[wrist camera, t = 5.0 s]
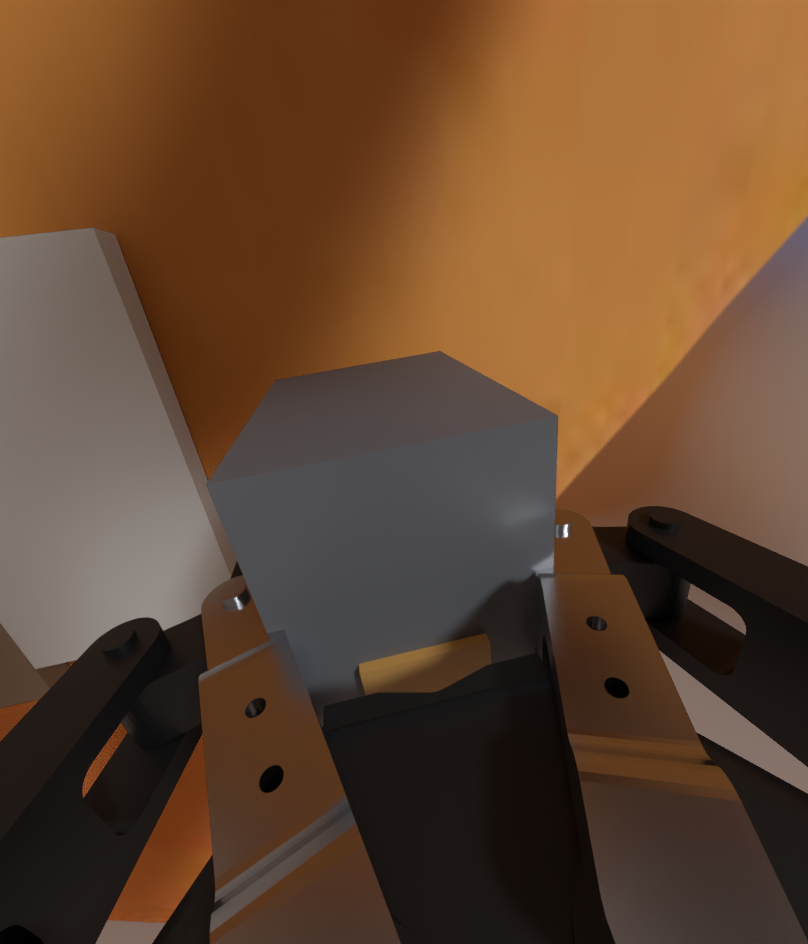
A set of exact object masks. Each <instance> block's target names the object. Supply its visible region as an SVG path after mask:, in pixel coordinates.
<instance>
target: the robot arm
mask: <svg viewBox="0 0 808 944" xmlns="http://www.w3.org/2000/svg"><path fill="white" fill-rule="evenodd" d="M690 584H693V585H695V586H696V587H698V588H700V589H701V590H703V591H705V592H706V593H708V594H710V595H711V596H713V597H715V598H717V599H718V600H720V601H722V602H723V603H725V604H727V605H729V606H730V607H732V608H733V609H734V610H735V611H736V612H737V613H738V614H739V615H740V616H741V617H742V619H743V621H744V623H745V625H746V635H744V634H743V633H741V632H740V631H738V630H736V629H735V628H733V627H732V626H730V625H728V624H727V623H725V622H724V621H722V620H720V619H719V618H717V617H716V616H714V615H712V614H711V613H709V612H708V611H706V610H705V609H703V608H701V607H699V606H698V605H697V604H695V603H693V602H692V601H690V600H688V599H687V597H688V593H689V589H690ZM535 592H536V601H537V648H535V653H534V654H530V655H526V656H522V657H518V658H514V659H510V660H506V661H502V662H498V663H494V664H490V665H486V666H484V667H483V668H481V669H479V670H477V671H475V672H473V673H472V674H470V675H468V676H466V677H464V678H462V679H461V680H459V681H457V682H455V683H453V684H451V685H449V686H448V687H446V688H444V689H442V690H440V691H437V692H378V693H374V694H370V695H366V696H362V697H358V698H354V699H350V700H346V701H342V702H338V703H334V704H330V705H326V706H324V713H323V727H321V724H320V721H319V719H318V716H317V713H316V711H315V708H314V706H313V703H312V701H311V698H310V696H309V693H308V690H307V688H306V685H305V683H304V680H303V677H302V675H301V672H300V670H299V667H298V664H297V662H296V659H295V656H294V654H293V651H292V648H291V646H290V643H289V641H288V638H287V635H286V633H285V630H284V629H283V630H279V631H274V632H270V633H267V632H266V629H265V627H264V625H263V622H262V620H261V617H260V615H259V613H258V610H257V608H256V605H255V603H254V600H253V598H252V596H251V593H250V591H249V588H248V586H247V584H246V581H245V579H244V576H243V574H242V571H241V569H240V567H239V564H238V562H236V564H235V567H234V570H233V573H232V576H231V578H230V579H229V580H227V581H225V582H224V583H222V584H220V585H219V586H217V587H216V588H215V589H213V590H212V591H211V592H210V593H209V594H208V595H207V597H206V598H205V599H204V601H203V603H202V606H201V614H199V615H197V616H195V617H193V618H191V619H189V620H187V621H184V622H182V623H180V624H178V625H175V626H173V627H171V628H168V629H166V630H164V631H163V629H162V628H161V626H160V624H159V622H158V621H157V620H155V619H153V618H149V617H143V618H137V619H133V620H130V621H127V622H124V623H122V624H120V625H118V626H116V627H114V628H112V629H111V630H109V631H108V632H106V633H105V634H103V635H102V636H100V637H99V638H98V639H97V640H96V641H95V642H94V643H93V644H91V645H90V646H89V648H88V649H87V650H86V651H85V652H84V653H83V654H82V655H81V656H80V657H79V658H78V659H77V660H76V661H75V663H74V664H73V665H72V666H71V667H70V668H69V669H68V670H67V671H66V672H65V673H64V674H63V675H62V676H61V678H60V679H59V680H58V681H57V682H56V683H55V684H54V685H53V686H52V687H51V688H50V689H49V690H48V691H47V692H46V694H45V695H44V696H43V697H42V698H41V699H40V700H39V701H38V702H37V703H36V704H35V705H34V706H33V707H32V709H31V710H30V711H29V712H28V713H27V714H26V715H25V716H24V717H23V718H22V719H21V720H20V721H19V722H18V724H17V725H16V726H15V727H14V728H13V729H12V730H11V731H10V732H9V733H8V734H7V735H6V736H5V737H4V738H3V740H2V741H1V742H0V944H95V943H96V941H97V939H98V937H99V935H100V933H101V931H102V929H103V927H104V925H105V923H106V921H107V920H108V918H109V916H110V914H111V912H112V910H113V908H114V906H115V904H116V902H117V900H118V898H119V896H120V894H121V892H122V890H123V888H124V886H125V884H126V882H127V880H128V878H129V876H130V874H131V872H132V870H133V868H134V867H135V865H136V863H137V861H138V859H139V857H140V855H141V853H142V851H143V849H144V847H145V845H146V843H147V841H148V839H149V837H150V835H151V833H152V831H153V829H154V827H155V825H156V823H157V821H158V819H159V817H160V815H161V814H162V812H163V810H164V808H165V806H166V804H167V802H168V800H169V798H170V796H171V794H172V792H173V790H174V788H175V786H176V784H177V782H178V780H179V778H180V776H181V774H182V772H183V770H184V768H185V766H186V764H187V762H188V761H189V759H190V757H191V755H192V753H193V751H194V749H195V747H196V745H197V743H198V741H199V739H200V737H201V735H202V733H203V744H204V756H205V768H206V780H207V792H208V804H209V816H210V828H211V840H212V852H213V855H212V856H211V858H210V859H209V861H208V862H207V864H206V865H205V866H204V868H203V869H202V871H201V872H200V874H199V875H198V877H197V878H196V880H195V881H194V883H193V884H192V886H191V887H190V889H189V890H188V892H187V893H186V894H185V896H184V897H183V899H182V900H181V902H180V903H179V905H178V906H177V908H176V909H175V911H174V912H173V914H172V915H171V917H170V918H169V919H168V921H167V922H166V924H165V926H164V927H163V929H162V930H161V931H160V933H159V934H158V936H157V937H156V939H155V940H154V942H153V943H152V944H808V794H807V793H805V792H804V791H802V790H800V789H798V788H796V787H794V786H793V785H791V784H789V783H787V782H785V781H784V780H782V779H780V778H778V777H776V776H775V775H773V774H771V773H769V772H767V771H765V770H764V769H762V768H760V767H758V766H756V765H755V764H753V763H751V762H749V761H747V760H745V759H744V758H742V757H740V756H738V755H737V754H735V753H733V752H731V751H729V750H727V749H725V748H724V747H722V746H720V745H718V744H717V743H715V742H713V741H711V740H709V739H708V738H706V737H704V736H702V735H700V734H698V733H697V732H696V731H695V729H694V727H693V725H692V722H691V720H690V718H689V716H688V713H687V712H686V709H685V707H684V705H683V702H682V700H681V698H680V696H679V693H678V692H677V689H676V687H675V685H674V682H673V680H672V678H671V676H670V674H669V671H668V669H667V667H666V665H665V662H664V660H663V658H662V656H661V654H660V652H659V650H660V651H661V652H662V653H663V654H665V655H666V656H667V657H669V658H670V659H671V660H672V661H674V662H675V663H676V664H678V665H679V666H680V667H681V668H683V669H684V670H685V671H686V672H688V673H689V674H690V675H691V676H693V677H694V678H695V679H697V680H698V681H699V682H700V683H702V684H703V685H704V686H705V687H707V688H708V689H709V690H711V691H712V692H713V693H714V694H716V695H717V696H718V697H720V698H721V699H722V700H723V701H724V702H726V703H727V704H728V705H730V706H731V707H732V708H733V709H735V710H736V711H737V712H739V713H740V714H741V715H742V716H744V717H745V718H746V719H747V720H749V721H750V722H751V723H752V724H754V725H755V726H756V727H758V728H759V729H760V730H761V731H763V732H764V733H765V734H766V735H768V736H769V737H770V738H772V739H773V740H774V741H776V742H777V743H778V744H779V745H780V746H782V747H783V748H784V749H786V750H787V751H788V752H789V753H791V754H792V755H793V756H794V757H796V758H797V759H798V760H799V761H801V762H802V763H803V764H805V765H806V766H807V767H808V567H807V566H805V565H803V564H801V563H798V562H796V561H794V560H792V559H789V558H787V557H785V556H783V555H780V554H778V553H776V552H773V551H771V550H769V549H767V548H764V547H762V546H760V545H758V544H755V543H753V542H751V541H749V540H746V539H744V538H742V537H739V536H737V535H735V534H733V533H730V532H728V531H726V530H723V529H721V528H719V527H717V526H715V525H712V524H710V523H708V522H706V521H703V520H701V519H699V518H696V517H694V516H692V515H690V514H687V513H685V512H682V511H680V510H676V509H673V508H668V507H661V506H648V507H641V508H638V509H635V510H634V511H632V512H631V513H630V514H629V517H628V523H627V527H592V526H591V523H590V522H589V520H588V519H587V518H586V517H584V516H583V515H581V514H579V513H577V512H575V511H571V510H567V509H559V508H555V534H554V566H553V567H551V568H546V569H542V570H538V571H535ZM120 723H121V724H122V725H123V726H124V728H125V729H126V730H127V732H128V733H127V735H126V736H125V738H124V739H123V741H122V742H121V744H120V745H119V747H118V748H117V749H116V751H115V752H114V754H113V755H112V757H111V758H110V760H109V761H108V763H107V764H106V766H105V767H104V769H103V770H102V772H101V773H100V775H99V776H98V778H97V779H96V781H95V782H94V784H93V785H92V787H91V788H90V790H89V791H88V793H87V794H86V796H85V797H84V798H83V795H82V787H83V782H84V778H85V776H86V773H87V771H88V769H89V767H90V765H91V764H92V762H93V761H94V760H95V758H96V757H97V755H98V754H99V752H100V751H101V750H102V748H103V747H104V745H105V744H106V743H107V741H108V740H109V738H110V737H111V735H112V734H113V733H114V731H115V730H116V728H117V727H118V725H119V724H120Z"/></svg>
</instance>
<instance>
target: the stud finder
mask: <svg viewBox="0 0 808 944" xmlns="http://www.w3.org/2000/svg"><path fill="white" fill-rule="evenodd" d="M557 438H558V415H556V414H554V413H552V412H550V411H549V410H547V409H545V408H543V407H541V406H539V405H538V404H536V403H534V402H532V401H530V400H528V399H527V398H525V397H523V396H521V395H519V394H517V393H516V392H514V391H512V390H510V389H508V388H507V387H505V386H503V385H501V384H499V383H497V382H496V381H494V380H492V379H490V378H488V377H486V376H485V375H483V374H481V373H479V372H477V371H475V370H474V369H472V368H470V367H468V366H466V365H464V364H463V363H461V362H459V361H457V360H455V359H453V358H452V357H450V356H448V355H446V354H444V353H442V352H441V351H438V352H432V353H426V354H421V355H415V356H409V357H403V358H398V359H392V360H386V361H381V362H375V363H369V364H364V365H358V366H352V367H347V368H341V369H335V370H330V371H324V372H318V373H313V374H307V375H301V376H296V377H290V378H284V379H279V380H275V381H274V383H273V384H272V386H271V387H270V389H269V390H268V392H267V393H266V395H265V397H264V398H263V400H262V401H261V403H260V404H259V406H258V407H257V409H256V410H255V412H254V413H253V415H252V416H251V418H250V419H249V421H248V422H247V424H246V425H245V427H244V428H243V430H242V431H241V433H240V434H239V436H238V437H237V439H236V440H235V442H234V443H233V445H232V446H231V448H230V449H229V451H228V452H227V454H226V455H225V457H224V458H223V460H222V461H221V463H220V464H219V466H218V467H217V469H216V470H215V472H214V473H213V475H212V476H211V478H210V479H209V481H208V482H207V484H206V487H207V489H208V492H209V494H210V496H211V499H212V501H213V504H214V506H215V509H216V511H217V513H218V516H219V518H220V521H221V523H222V525H223V528H224V530H225V533H226V535H227V538H228V540H229V542H230V545H231V547H232V550H233V552H234V555H235V557H236V559H237V562H238V564H239V567H240V569H241V571H242V574H243V576H244V579H245V581H246V584H247V586H248V588H249V591H250V593H251V596H252V598H253V600H254V603H255V605H256V608H257V610H258V613H259V615H260V617H261V620H262V622H263V625H264V627H265V629H266V632H267V633H270V632H274V631H279V630H283V629H284V630H285V633H286V635H287V638H288V641H289V643H290V646H291V648H292V651H293V654H294V656H295V659H296V662H297V664H298V667H299V670H300V672H301V675H302V677H303V680H304V683H305V685H306V688H307V690H308V693H309V696H310V698H311V701H312V703H313V706H314V708H315V711H316V713H317V716H318V719H319V721H320V724H321V727H323V713H324V706H326V705H330V704H334V703H338V702H342V701H346V700H350V699H354V698H358V697H362V696H366V695H370V694H374V693H378V692H437V691H440V690H442V689H444V688H446V687H448V686H449V685H451V684H453V683H455V682H457V681H459V680H461V679H462V678H464V677H466V676H468V675H470V674H472V673H473V672H475V671H477V670H479V669H481V668H483V667H484V666H486V665H490V664H494V663H498V662H502V661H506V660H510V659H514V658H518V657H522V656H526V655H530V654H534V653H535V648H537V601H536V592H535V571H538V570H542V569H546V568H551V567H553V566H554V534H555V502H556V470H557Z"/></svg>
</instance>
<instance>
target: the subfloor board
mask: <svg viewBox="0 0 808 944" xmlns="http://www.w3.org/2000/svg"><path fill="white" fill-rule="evenodd" d="M207 482H208V480H207V477H206V474H205V472H204V469H203V466H202V464H201V461H200V458H199V456H198V453H197V451H196V448H195V445H194V443H193V440H192V437H191V435H190V432H189V429H188V427H187V424H186V421H185V419H184V416H183V413H182V411H181V408H180V405H179V403H178V400H177V397H176V395H175V392H174V390H173V387H172V384H171V382H170V379H169V376H168V374H167V371H166V368H165V366H164V363H163V360H162V358H161V355H160V352H159V350H158V347H157V344H156V342H155V339H154V336H153V334H152V331H151V329H150V326H149V323H148V321H147V318H146V315H145V313H144V310H143V307H142V305H141V302H140V299H139V297H138V294H137V291H136V289H135V286H134V283H133V281H132V278H131V275H130V273H129V270H128V267H127V265H126V262H125V260H124V257H123V254H122V252H121V249H120V246H119V244H118V241H117V238H116V236H115V234H112V233H109V232H106V231H103V230H99V229H96V228H85V229H76V230H67V231H57V232H48V233H39V234H30V235H21V236H12V237H3V238H0V708H3V707H7V706H12V705H16V704H20V703H25V702H29V701H33V700H38V699H41V698H42V697H43V696H44V695H45V694H46V692H47V691H48V690H49V689H50V688H51V687H52V686H53V685H54V684H55V683H56V682H57V681H58V680H59V679H60V678H61V676H62V675H63V674H64V673H65V672H66V671H67V670H68V669H69V668H70V667H69V666H68V664H67V663H66V662H70V661H74V660H77V659H78V658H79V657H80V656H81V655H82V654H83V653H84V652H85V651H86V650H87V649H88V648H89V646H90V645H91V644H93V643H94V642H95V641H96V640H97V639H98V638H99V637H100V636H102V635H103V634H105V633H106V632H108V631H109V630H111V629H112V628H114V627H116V626H118V625H120V624H122V623H124V622H127V621H130V620H133V619H137V618H143V617H149V618H153V619H155V620H157V621H158V622H159V624H160V626H161V628H162V629H163V631H164V630H166V629H168V628H171V627H173V626H175V625H178V624H180V623H182V622H184V621H187V620H189V619H191V618H193V617H195V616H197V615H199V614H201V606H202V603H203V601H204V599H205V598H206V597H207V595H208V594H209V593H210V592H211V591H212V590H213V589H215V588H216V587H217V586H219V585H220V584H222V583H224V582H225V581H227V580H229V579H230V578H231V576H232V573H233V570H234V567H235V564H236V562H237V559H236V557H235V555H234V552H233V550H232V547H231V545H230V542H229V540H228V538H227V535H226V533H225V530H224V528H223V525H222V523H221V521H220V518H219V516H218V513H217V511H216V509H215V506H214V504H213V501H212V499H211V496H210V494H209V492H208V489H207V487H206V484H207Z"/></svg>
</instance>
